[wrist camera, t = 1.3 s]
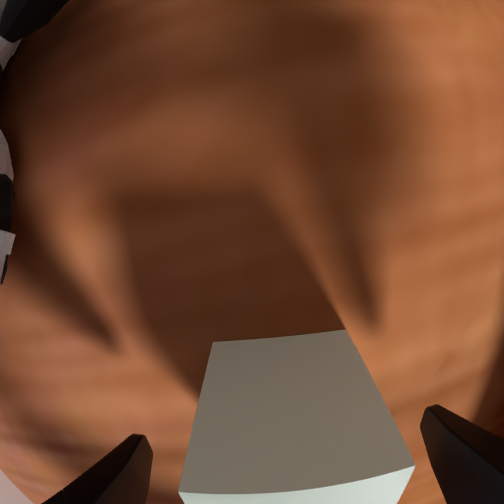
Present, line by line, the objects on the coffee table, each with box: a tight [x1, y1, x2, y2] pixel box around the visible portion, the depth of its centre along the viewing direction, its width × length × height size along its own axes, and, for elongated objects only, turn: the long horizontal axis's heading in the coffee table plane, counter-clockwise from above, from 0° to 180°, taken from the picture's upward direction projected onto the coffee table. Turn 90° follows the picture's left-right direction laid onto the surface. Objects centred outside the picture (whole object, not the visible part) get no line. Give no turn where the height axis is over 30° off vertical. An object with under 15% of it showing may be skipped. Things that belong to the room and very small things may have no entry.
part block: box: [178, 329, 416, 504], centre depth 8 cm, size 4×4×6 cm
